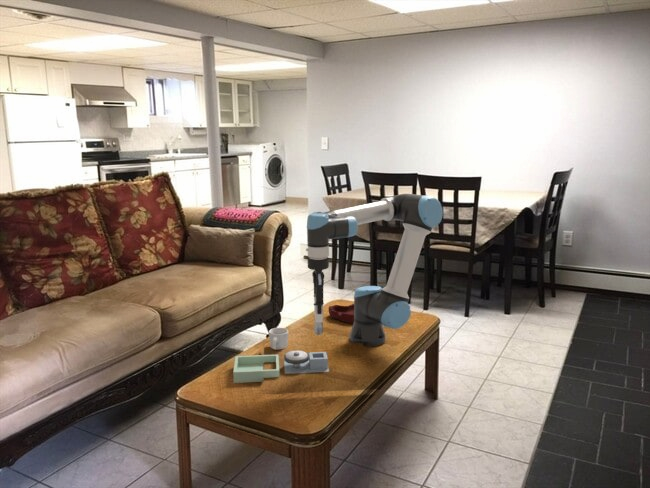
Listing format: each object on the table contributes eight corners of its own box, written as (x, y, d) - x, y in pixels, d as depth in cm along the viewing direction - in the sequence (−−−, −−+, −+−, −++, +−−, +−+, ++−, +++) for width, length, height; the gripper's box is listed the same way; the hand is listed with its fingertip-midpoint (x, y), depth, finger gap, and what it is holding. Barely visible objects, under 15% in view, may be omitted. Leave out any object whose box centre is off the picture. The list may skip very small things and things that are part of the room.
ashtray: (334, 326, 245) (334, 316, 244) (326, 314, 261) (326, 305, 260) (371, 323, 248) (372, 313, 247) (362, 312, 264) (362, 302, 263)
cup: (283, 357, 211) (283, 337, 209) (264, 355, 212) (263, 336, 211) (291, 346, 221) (290, 328, 219) (272, 345, 223) (272, 326, 221)
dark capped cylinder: (322, 331, 199) (322, 292, 196) (323, 334, 196) (322, 295, 193) (314, 331, 198) (313, 293, 195) (315, 334, 195) (314, 295, 192)
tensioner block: (326, 362, 205) (326, 346, 204) (329, 375, 195) (329, 358, 193) (283, 364, 204) (283, 348, 202) (284, 377, 193) (284, 359, 192)
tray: (278, 364, 204) (278, 354, 203) (279, 380, 190) (279, 370, 190) (235, 366, 202) (235, 356, 202) (233, 382, 189) (233, 372, 188)
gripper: (305, 252, 199) (306, 313, 203) (309, 262, 183) (310, 328, 188) (326, 252, 199) (326, 312, 204) (331, 262, 184) (331, 327, 189)
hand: (318, 319), depth 196 cm, fingers closed on dark capped cylinder, 3 cm apart
